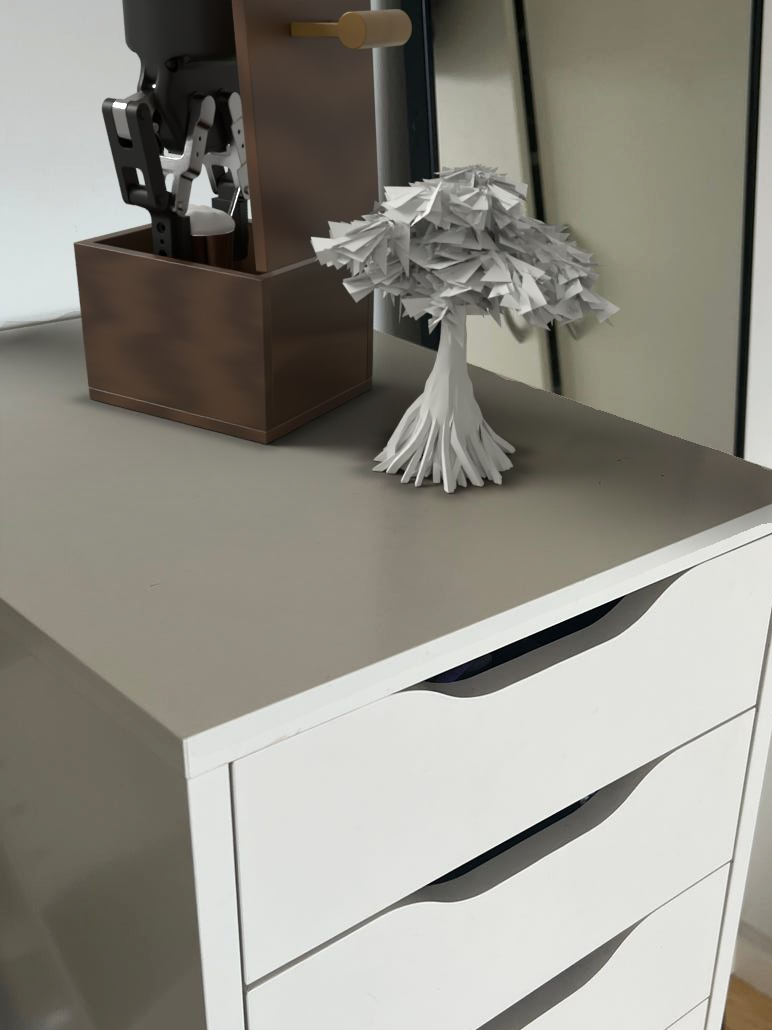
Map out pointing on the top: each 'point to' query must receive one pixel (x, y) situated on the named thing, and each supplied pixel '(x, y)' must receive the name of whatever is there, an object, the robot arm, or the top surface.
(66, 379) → the top surface
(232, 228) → the milkshake
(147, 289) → the chest
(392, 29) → the lid
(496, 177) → the tree
